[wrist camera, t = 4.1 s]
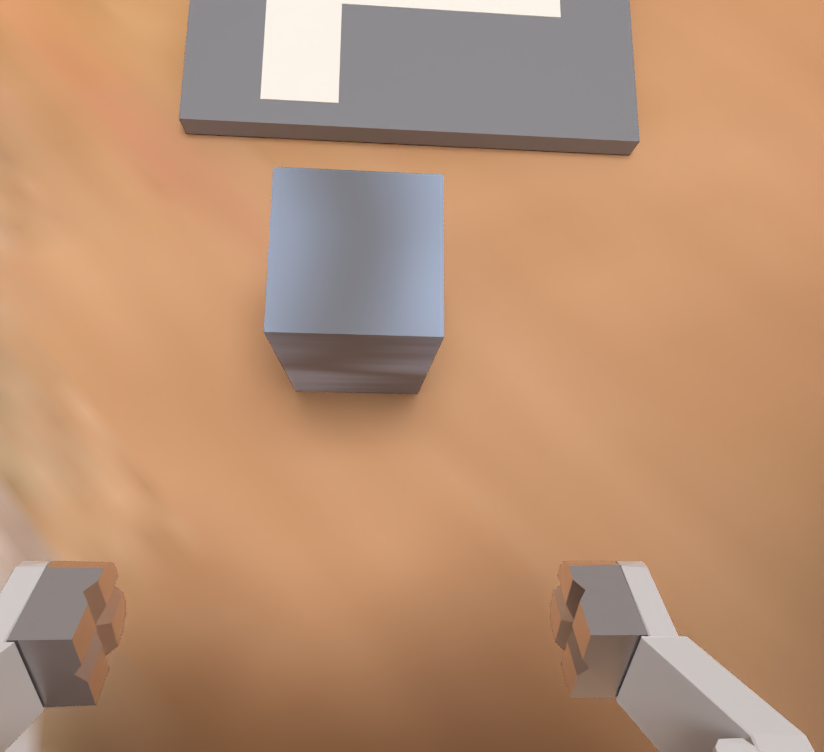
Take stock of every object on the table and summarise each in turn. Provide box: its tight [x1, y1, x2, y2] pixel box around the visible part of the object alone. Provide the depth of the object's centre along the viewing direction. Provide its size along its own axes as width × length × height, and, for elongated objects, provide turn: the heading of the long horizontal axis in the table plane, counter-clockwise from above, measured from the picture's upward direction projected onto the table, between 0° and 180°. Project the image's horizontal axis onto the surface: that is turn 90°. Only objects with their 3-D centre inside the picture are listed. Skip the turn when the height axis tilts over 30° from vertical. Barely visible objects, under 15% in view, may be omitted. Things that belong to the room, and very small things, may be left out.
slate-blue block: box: [264, 167, 444, 394], centre depth 21 cm, size 4×4×8 cm
